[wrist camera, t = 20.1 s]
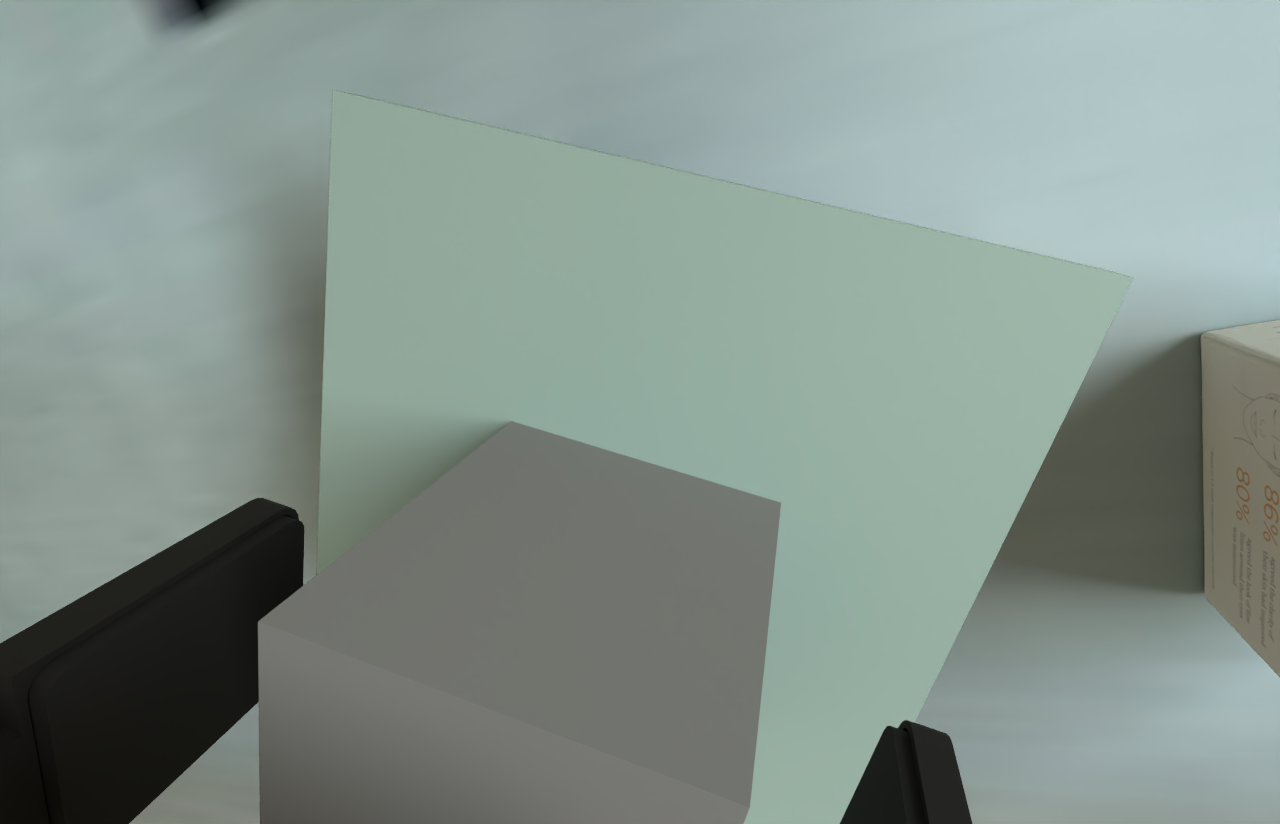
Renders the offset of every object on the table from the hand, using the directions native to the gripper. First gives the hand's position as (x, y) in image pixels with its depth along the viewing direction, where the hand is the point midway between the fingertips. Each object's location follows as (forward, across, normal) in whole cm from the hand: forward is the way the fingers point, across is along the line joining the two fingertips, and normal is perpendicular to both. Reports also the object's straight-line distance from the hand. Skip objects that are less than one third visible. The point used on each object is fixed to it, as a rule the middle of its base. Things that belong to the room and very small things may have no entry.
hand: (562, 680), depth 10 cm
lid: (+4, 0, 0) cm, 4 cm away
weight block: (+3, 0, 0) cm, 3 cm away
